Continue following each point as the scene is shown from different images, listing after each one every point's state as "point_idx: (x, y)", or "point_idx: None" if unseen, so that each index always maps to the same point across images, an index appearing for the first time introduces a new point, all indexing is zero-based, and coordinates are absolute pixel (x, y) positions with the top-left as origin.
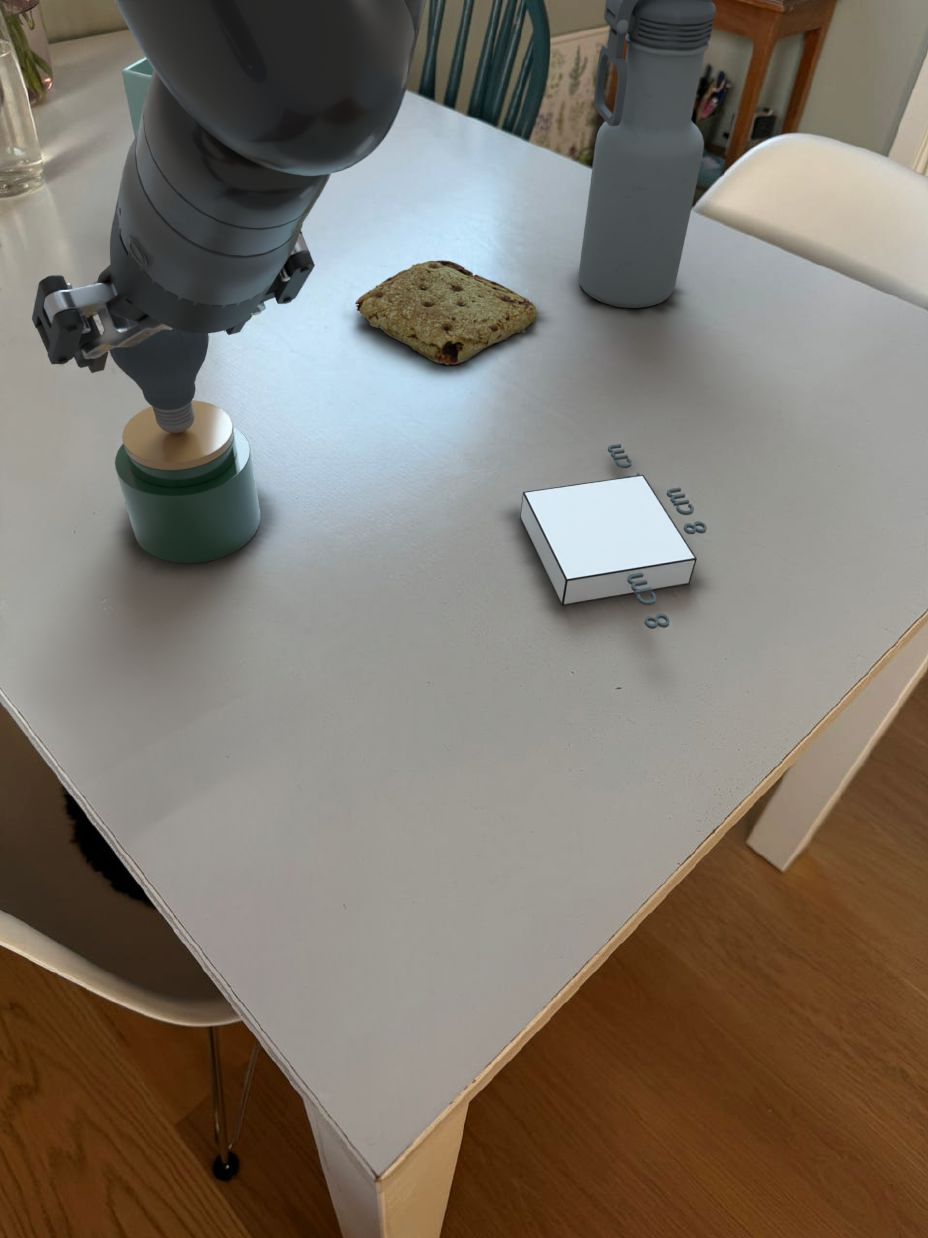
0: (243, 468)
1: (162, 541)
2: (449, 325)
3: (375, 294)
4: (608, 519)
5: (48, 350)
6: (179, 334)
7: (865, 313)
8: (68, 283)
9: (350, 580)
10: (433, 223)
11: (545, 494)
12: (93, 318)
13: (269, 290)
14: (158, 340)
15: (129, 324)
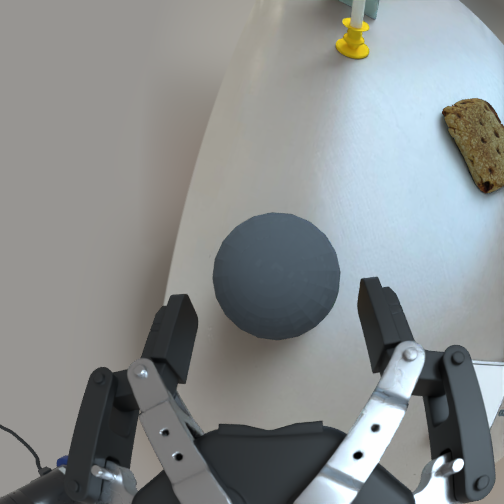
0: (322, 319)
1: None
2: (492, 169)
3: (456, 113)
4: (484, 397)
5: (111, 410)
6: (292, 334)
7: None
8: (97, 475)
9: (353, 379)
10: (477, 67)
11: (477, 369)
12: (167, 361)
13: (422, 394)
14: (263, 336)
15: (199, 432)
